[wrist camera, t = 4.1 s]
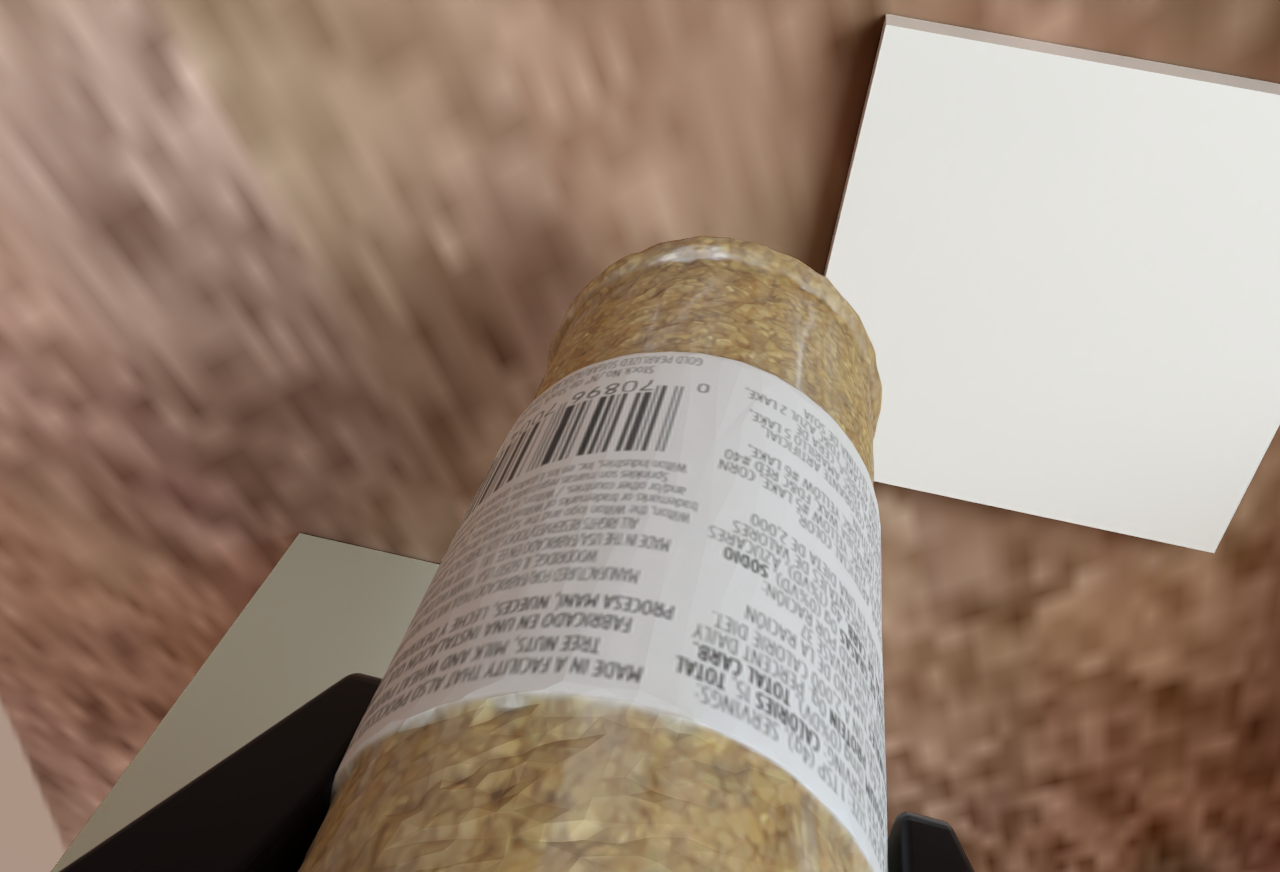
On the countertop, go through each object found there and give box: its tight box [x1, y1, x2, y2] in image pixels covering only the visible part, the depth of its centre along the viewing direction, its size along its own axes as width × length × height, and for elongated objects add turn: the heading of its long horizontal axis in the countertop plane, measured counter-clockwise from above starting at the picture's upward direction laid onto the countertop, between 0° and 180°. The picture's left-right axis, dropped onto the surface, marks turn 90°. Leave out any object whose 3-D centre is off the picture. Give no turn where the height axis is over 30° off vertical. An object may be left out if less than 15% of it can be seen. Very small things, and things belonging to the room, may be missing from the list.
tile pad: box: [824, 14, 1280, 553], centre depth 20 cm, size 8×8×1 cm
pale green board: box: [51, 533, 440, 872], centre depth 22 cm, size 12×2×10 cm, turn 82°
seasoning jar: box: [298, 236, 888, 872], centre depth 10 cm, size 5×5×14 cm
